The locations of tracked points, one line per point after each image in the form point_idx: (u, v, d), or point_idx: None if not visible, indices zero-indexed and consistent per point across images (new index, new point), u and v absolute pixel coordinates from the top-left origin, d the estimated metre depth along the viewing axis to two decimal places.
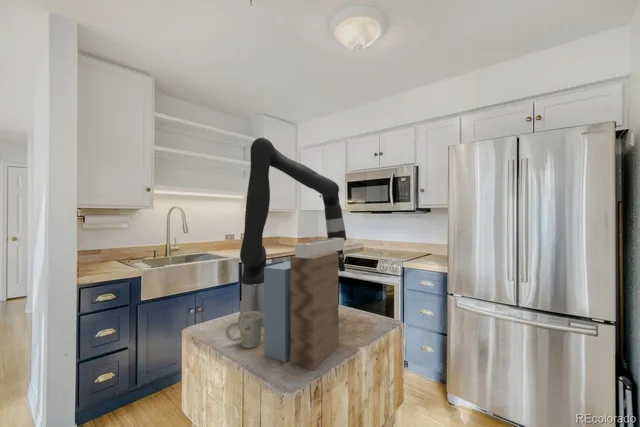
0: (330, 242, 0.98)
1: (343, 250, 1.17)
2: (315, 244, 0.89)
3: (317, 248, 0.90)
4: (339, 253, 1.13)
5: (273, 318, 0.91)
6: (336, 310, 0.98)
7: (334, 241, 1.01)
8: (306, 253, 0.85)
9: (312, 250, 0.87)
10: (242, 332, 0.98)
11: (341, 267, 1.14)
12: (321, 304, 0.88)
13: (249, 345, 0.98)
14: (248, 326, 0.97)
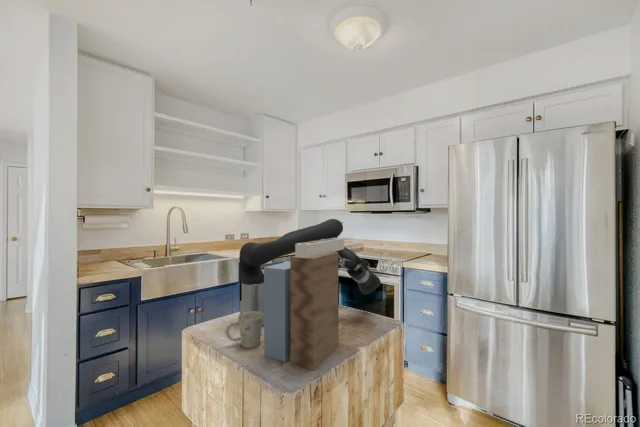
0: (330, 242, 0.98)
1: (357, 269, 1.18)
2: (315, 244, 0.89)
3: (317, 248, 0.90)
4: (368, 264, 1.17)
5: (273, 318, 0.91)
6: (336, 310, 0.98)
7: (334, 241, 1.01)
8: (306, 253, 0.85)
9: (312, 250, 0.87)
10: (242, 332, 0.98)
11: (359, 259, 1.13)
12: (321, 304, 0.88)
13: (249, 345, 0.98)
14: (248, 326, 0.97)
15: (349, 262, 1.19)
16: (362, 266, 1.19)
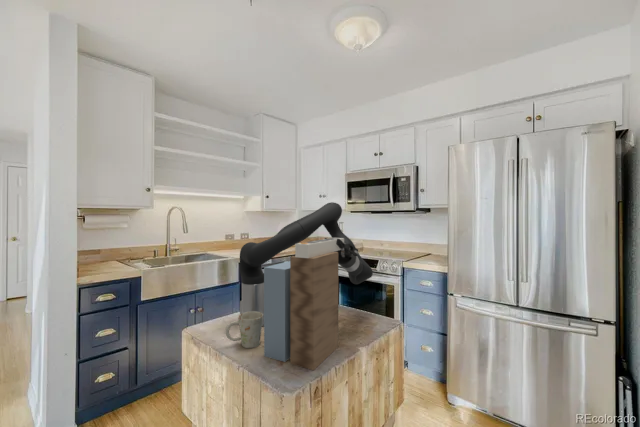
0: (330, 242, 0.98)
1: (344, 254, 1.08)
2: (315, 244, 0.89)
3: (317, 248, 0.90)
4: (353, 249, 1.06)
5: (273, 318, 0.91)
6: (336, 310, 0.98)
7: (334, 241, 1.01)
8: (306, 253, 0.85)
9: (312, 250, 0.87)
10: (242, 332, 0.98)
11: (341, 242, 1.03)
12: (321, 304, 0.88)
13: (249, 345, 0.98)
14: (248, 326, 0.97)
15: None
16: None
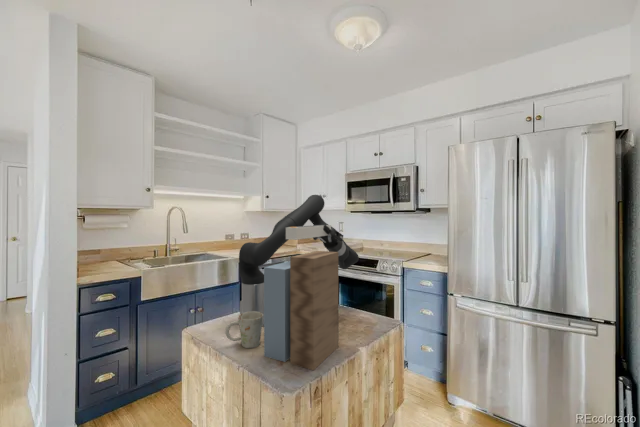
0: (317, 227, 1.11)
1: (331, 240, 1.21)
2: (303, 228, 1.02)
3: (305, 232, 1.03)
4: (339, 234, 1.19)
5: (273, 318, 0.91)
6: (336, 310, 0.98)
7: (321, 227, 1.14)
8: (295, 235, 0.98)
9: (300, 233, 1.00)
10: (242, 332, 0.98)
11: (328, 228, 1.16)
12: (321, 304, 0.88)
13: (249, 345, 0.98)
14: (248, 326, 0.97)
15: None
16: None
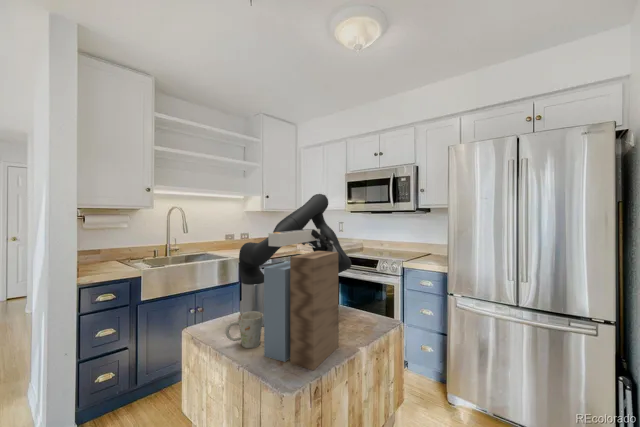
0: (304, 232, 1.03)
1: (320, 245, 1.12)
2: (288, 233, 0.94)
3: (290, 237, 0.95)
4: (328, 239, 1.11)
5: (273, 318, 0.91)
6: (336, 310, 0.98)
7: (309, 231, 1.05)
8: (278, 242, 0.90)
9: (285, 239, 0.92)
10: (242, 332, 0.98)
11: (316, 233, 1.08)
12: (321, 304, 0.88)
13: (249, 345, 0.98)
14: (248, 326, 0.97)
15: (316, 239, 1.14)
16: None
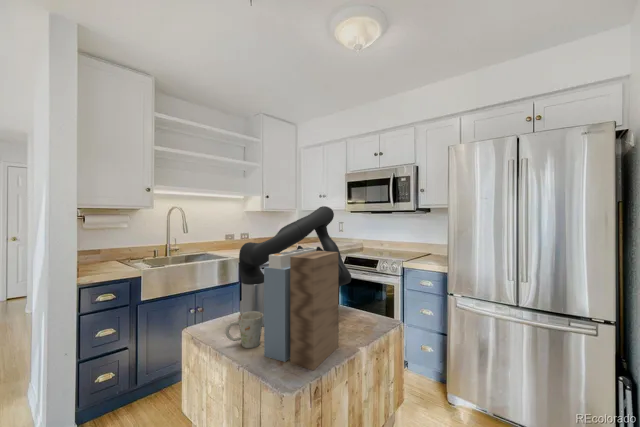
0: (305, 252, 1.03)
1: None
2: (288, 255, 0.94)
3: None
4: None
5: (273, 318, 0.91)
6: (336, 310, 0.98)
7: (309, 251, 1.05)
8: (279, 264, 0.90)
9: (285, 261, 0.92)
10: (242, 332, 0.98)
11: (321, 250, 1.08)
12: (321, 304, 0.88)
13: (249, 345, 0.98)
14: (248, 326, 0.97)
15: None
16: None
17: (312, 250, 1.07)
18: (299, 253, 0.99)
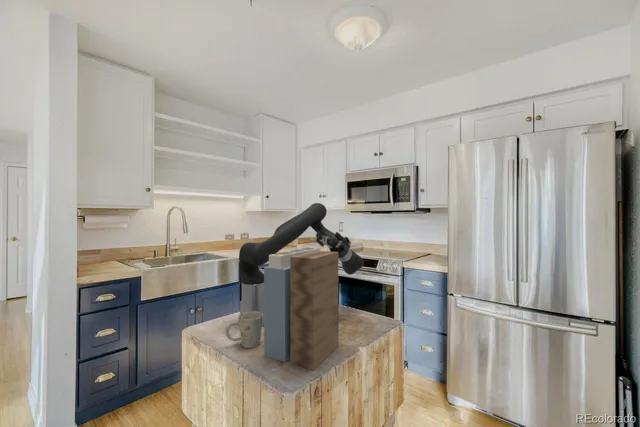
0: (305, 252, 1.03)
1: (339, 246, 1.23)
2: (288, 255, 0.94)
3: None
4: (348, 242, 1.21)
5: (273, 318, 0.91)
6: (336, 310, 0.98)
7: (309, 251, 1.05)
8: (279, 264, 0.90)
9: (285, 261, 0.92)
10: (242, 332, 0.98)
11: (340, 235, 1.18)
12: (321, 304, 0.88)
13: (249, 345, 0.98)
14: (248, 326, 0.97)
15: (331, 240, 1.24)
16: (344, 244, 1.24)
17: (312, 250, 1.07)
18: (299, 253, 0.99)
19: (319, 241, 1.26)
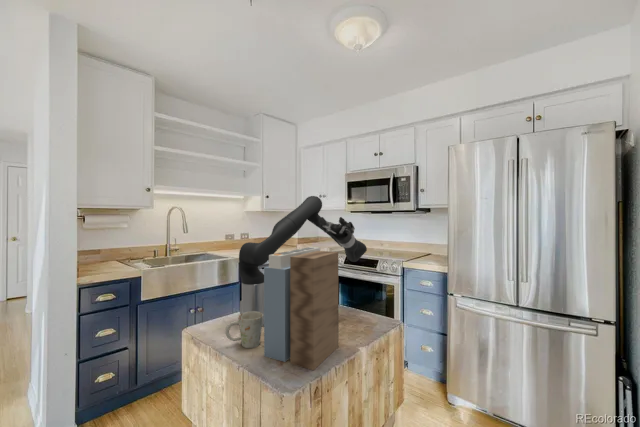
0: (305, 252, 1.03)
1: (342, 231, 1.23)
2: (288, 255, 0.94)
3: None
4: (352, 227, 1.21)
5: (273, 318, 0.91)
6: (336, 310, 0.98)
7: (309, 251, 1.05)
8: (279, 264, 0.90)
9: (285, 261, 0.92)
10: (242, 332, 0.98)
11: (343, 220, 1.18)
12: (321, 304, 0.88)
13: (249, 345, 0.98)
14: (248, 326, 0.97)
15: (335, 225, 1.24)
16: (347, 229, 1.24)
17: (312, 250, 1.07)
18: (299, 253, 0.99)
19: (323, 227, 1.26)
